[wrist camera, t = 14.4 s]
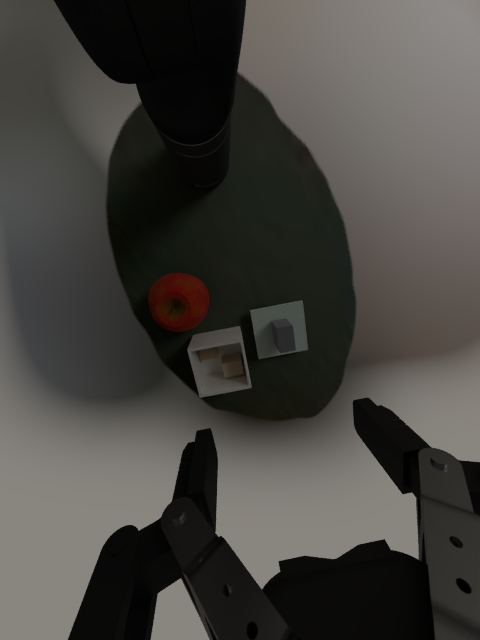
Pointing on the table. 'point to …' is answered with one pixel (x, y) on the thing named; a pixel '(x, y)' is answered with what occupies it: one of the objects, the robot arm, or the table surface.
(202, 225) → the table surface
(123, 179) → the table surface
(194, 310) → the apple
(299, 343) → the lid
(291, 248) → the table surface
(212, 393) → the storage box
